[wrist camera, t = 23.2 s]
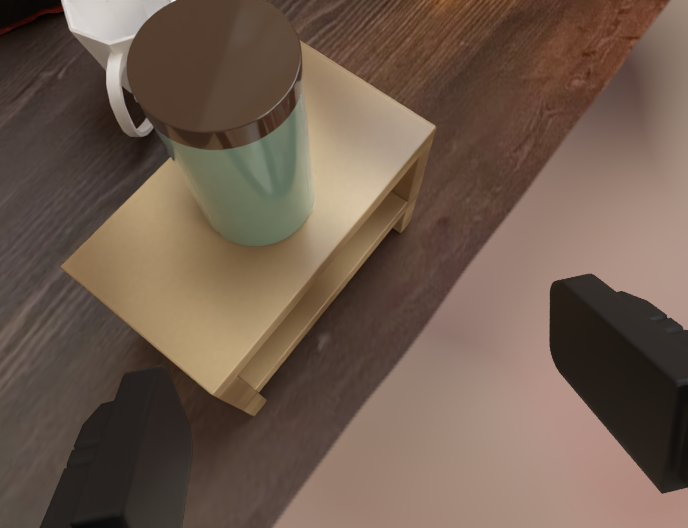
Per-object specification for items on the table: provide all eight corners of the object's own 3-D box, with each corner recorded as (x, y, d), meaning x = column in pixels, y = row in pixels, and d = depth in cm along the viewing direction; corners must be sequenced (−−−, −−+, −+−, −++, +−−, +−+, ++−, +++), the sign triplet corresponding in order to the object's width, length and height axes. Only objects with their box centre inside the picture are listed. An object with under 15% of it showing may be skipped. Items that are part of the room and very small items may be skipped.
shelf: (306, 149, 38) (292, 34, 28) (411, 221, 37) (437, 126, 26) (145, 325, 34) (59, 266, 24) (254, 416, 32) (211, 395, 22)
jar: (245, 125, 26) (198, -35, 18) (338, 178, 25) (335, 35, 17) (176, 210, 25) (88, 78, 16) (271, 269, 24) (232, 163, 15)
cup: (212, 46, 41) (183, -47, 34) (198, 162, 38) (162, 87, 30) (120, 45, 42) (70, -48, 34) (98, 160, 38) (37, 86, 31)
